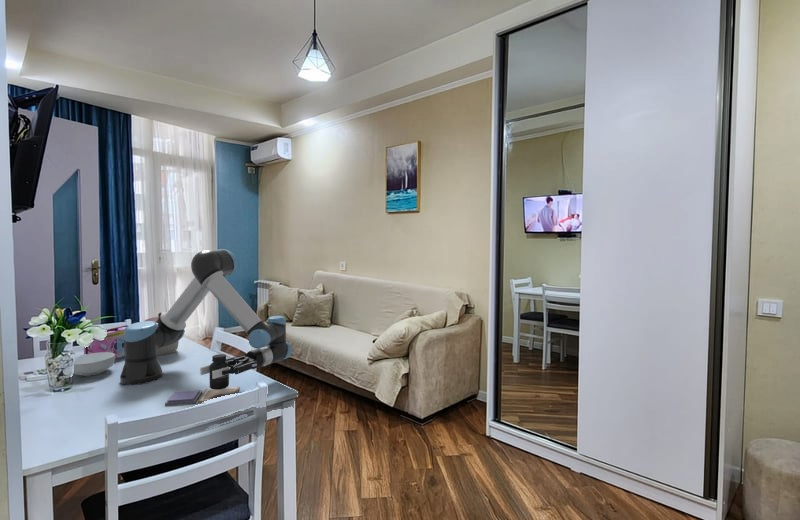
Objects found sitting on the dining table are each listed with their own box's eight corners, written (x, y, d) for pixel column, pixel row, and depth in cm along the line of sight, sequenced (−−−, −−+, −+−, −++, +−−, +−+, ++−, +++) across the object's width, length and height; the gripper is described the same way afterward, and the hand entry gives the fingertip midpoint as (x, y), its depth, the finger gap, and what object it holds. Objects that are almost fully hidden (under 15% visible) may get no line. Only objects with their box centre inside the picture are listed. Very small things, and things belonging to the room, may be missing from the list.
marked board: (197, 403, 149) (197, 401, 149) (206, 391, 161) (205, 388, 161) (233, 401, 152) (233, 398, 152) (239, 388, 164) (239, 386, 164)
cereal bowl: (86, 367, 189) (85, 352, 189) (123, 366, 190) (123, 351, 190) (57, 380, 172) (56, 363, 172) (99, 379, 173) (98, 363, 173)
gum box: (93, 365, 192) (92, 336, 191) (80, 364, 194) (79, 335, 193) (138, 351, 215) (138, 326, 214) (126, 350, 217) (126, 325, 216)
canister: (188, 347, 223) (187, 309, 222) (172, 357, 205) (171, 315, 204) (154, 347, 222) (153, 309, 221) (134, 357, 204) (133, 315, 203)
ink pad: (164, 405, 147) (164, 401, 147) (174, 395, 157) (173, 391, 157) (195, 403, 149) (195, 399, 149) (202, 393, 159) (202, 389, 159)
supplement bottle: (222, 390, 152) (221, 358, 152) (205, 389, 154) (204, 357, 153) (233, 384, 159) (232, 353, 158) (217, 382, 161) (216, 352, 160)
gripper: (274, 371, 166) (223, 388, 147) (243, 362, 177) (191, 378, 157) (274, 352, 166) (222, 367, 146) (243, 345, 176) (191, 358, 157)
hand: (206, 373), depth 152 cm, fingers closed on supplement bottle, 7 cm apart
